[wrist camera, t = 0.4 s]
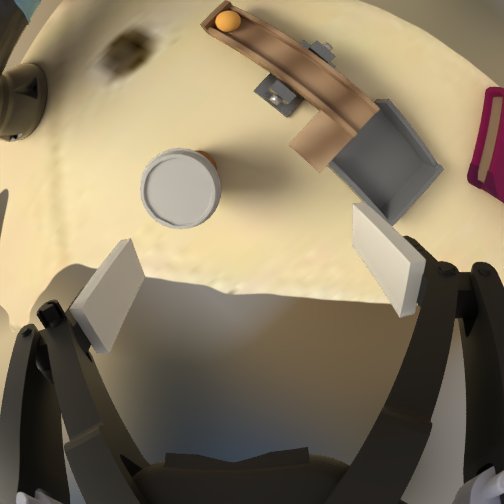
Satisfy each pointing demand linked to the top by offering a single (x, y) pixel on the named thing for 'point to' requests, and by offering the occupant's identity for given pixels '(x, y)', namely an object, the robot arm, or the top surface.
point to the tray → (386, 163)
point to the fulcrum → (281, 92)
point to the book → (490, 146)
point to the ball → (228, 21)
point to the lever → (301, 84)
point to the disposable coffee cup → (181, 188)
